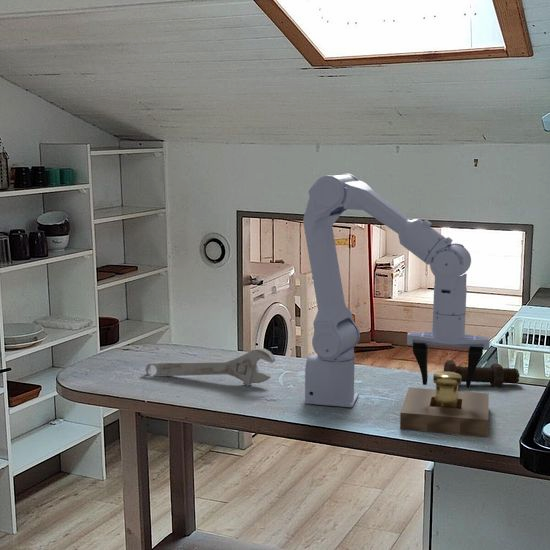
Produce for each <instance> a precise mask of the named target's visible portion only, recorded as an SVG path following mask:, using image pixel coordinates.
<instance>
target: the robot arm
mask: <svg viewBox="0 0 550 550" xmlns="http://www.w3.org/2000/svg"><path fill="white" fill-rule="evenodd" d="M308 195H309V197H308V198H309V199H308V202H307V205H306V208H305V212H304V215H303V219H302V221H303V228H304V229H303V230H304V236H305V240H306V247H307V248H306V249H307V252H308V253H307V254H308V259H309V264H310V269H311V276H312V282H313V289H314V295H315V301H316V306H317V312H316V315H315V318H314V320H313V323H312V324H313V335H312V339H311V344H312V348H313V351H314V352H315V354H309V355H308V356H307V357H306V362H305V367H304V369H305V370H304V379H305V380H304V401H303V402H304V404H308V405H319V406H332V407H343V408H353V406H354V405H355V403H356V401H357V399H358V398H359V392H355V355H356V354H355V352H354V351H355V350H354V349H355V347H356V346H357V345H358V343H359V341H360V337H361V336H360V334H361V333H360V330H359V327H358V326H357V324H356V323H355V321H354V317H353V313H352V311H351V310H350V308H348V307H347V305H346V302H345V295H344V291H343V285H342V279H341V278H342V277H341V272H340V265H339V260H338V254H337V248H336V241H335V235H334V229H333V226H334V224H335V223H336V221H337V220H338V219H339V217H340V216H341V215H342V213H344V212H345V211H347V210H355V211H356V210H358V211H360V210H361V211H364V212H365V213H367V214H368V215H370V216H371V217H373V218H374V219H376V221H379V222H380V223H382V224H383V225H385V226H386V228H387V227H388V228H389V229H390V230H392V231H393V232H394V233H396V234H397V235H398V240H399V243H400V245H402V246H403V248H405V249H407V250H408V251H409V252H410V253H412V254H413V255H414V256H415V257H416V258H418V259H419V260H421V261H422V262H423V263H425V264H427V265H429V268H430V270H431V273H432V274H433V276H434V286H433V305H432V306H433V309H432V311H433V312H432V327H431V328H432V331H431V332H428V331H427V332H425V331H424V332H410V331H409V332H407V336H406V345H407V346H412V353H413V356H414V358H415V359H416V361H417V364H418V367H419V370H420V375H421V379H422V380H421V382H422V385H423V386H427V384H428V376H429V375H428V354H429V353H428V352H429V346H434V347H447V348H449V347H450V348H463V349H468V352H467V353H468V355H467V357H468V359H467V367H468V372H467V379H466V382H465V389H471V383H472V381H471V380H472V376H473V373H474V371H475V369H476V367H478V364H479V362H480V361H481V360H482V357H483V354H484V351H490V346H491V345H490V344H491V338H490V337H489V336H478V335H472V334H466V332H465V331H466V330H465V329H466V311H467V310H466V309H467V307H466V306H467V292H468V291H467V290H468V289H467V278H468V276H467V273H466V272H467V271H468V270H469V269H470V267H471V264H472V257H471V254H470V251H468V249H467V248H465V246H464V245H463V244H461V243H457V242H456V243H455V242H454V243H453V241H454V240H453V239H452V238H450V236H448V237H445V236H444V235H442V234H441V233H440V232H438V231H437V230H436V229H434V228H433V227H431V226H432V225H433V223H432V222H431V221H430V220H429V219H425V220H422V219H420V218H414V219H409V218H408V217H407V216H406V215H404V214H403V213H402V212H401V211H400V210H398V209H397V207H395V206H393V204H391V203H390V202H389V201H387V200H386V199H385V198H384V197H383V196H381V195H380V194H379V193H377V192H376V191H375V190H374V189H373V188H372V187H370V186H369V184H367V183H366V182H365V181H362V180H359V179H358V178H357V177H356V176H355V175H353V174H351V173H342V174H337V175H329V174H328V175H323V176H321V177H320V178H318V179H317V180H316V181H315V182H314V184H313V185H312V186H311V187H310V188H309V190H308Z"/></svg>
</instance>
